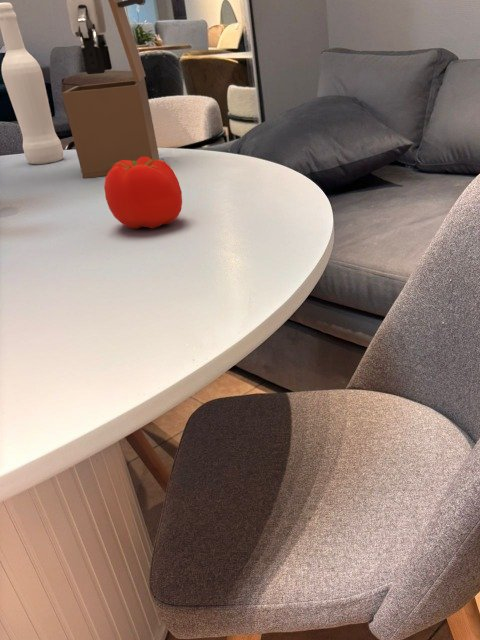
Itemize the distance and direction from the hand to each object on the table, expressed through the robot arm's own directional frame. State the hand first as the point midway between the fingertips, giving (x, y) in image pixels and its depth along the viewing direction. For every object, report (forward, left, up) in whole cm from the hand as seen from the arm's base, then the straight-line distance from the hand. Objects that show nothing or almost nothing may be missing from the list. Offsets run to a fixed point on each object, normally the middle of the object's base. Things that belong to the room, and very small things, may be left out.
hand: (100, 71), depth 119 cm
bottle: (-19, +18, -17) cm, 31 cm away
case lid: (+6, 0, +5) cm, 8 cm away
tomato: (+9, -46, -17) cm, 50 cm away
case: (0, 0, -17) cm, 17 cm away
